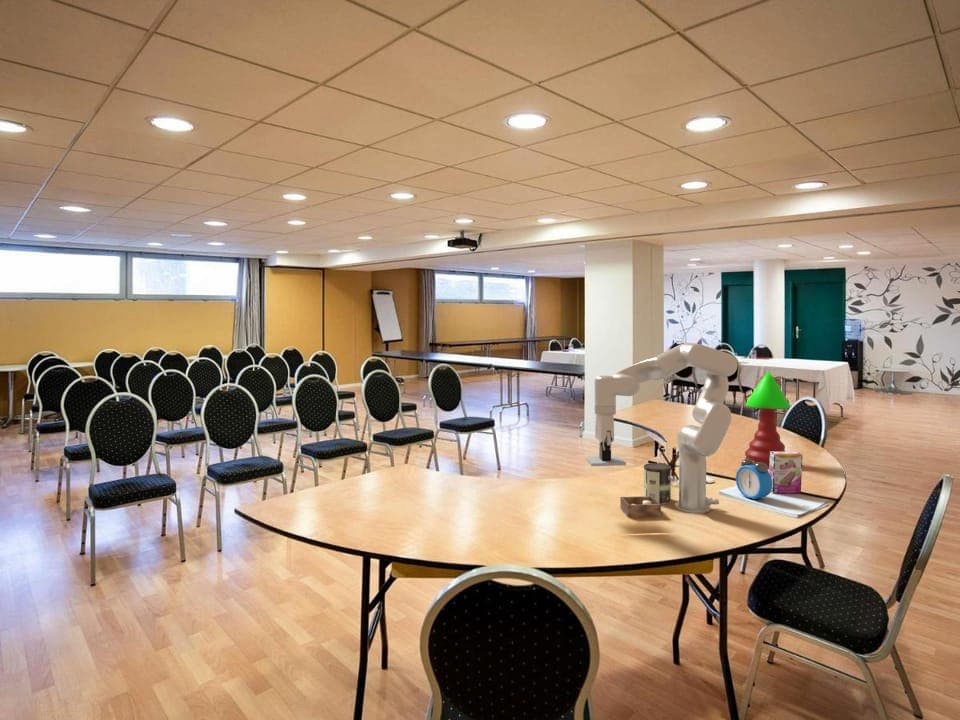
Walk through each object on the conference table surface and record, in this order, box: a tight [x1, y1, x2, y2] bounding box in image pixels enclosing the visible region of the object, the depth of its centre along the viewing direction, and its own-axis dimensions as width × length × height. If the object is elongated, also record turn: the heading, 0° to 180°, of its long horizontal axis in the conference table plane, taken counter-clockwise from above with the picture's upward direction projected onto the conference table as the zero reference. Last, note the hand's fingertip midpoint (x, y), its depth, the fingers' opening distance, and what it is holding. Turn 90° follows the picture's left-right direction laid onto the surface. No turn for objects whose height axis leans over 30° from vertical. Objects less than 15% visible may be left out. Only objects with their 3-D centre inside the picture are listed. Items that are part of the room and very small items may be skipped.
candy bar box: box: [768, 451, 803, 495], centre depth 239 cm, size 11×5×16 cm, turn 84°
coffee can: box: [643, 462, 672, 505], centre depth 231 cm, size 10×10×14 cm
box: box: [619, 495, 662, 519], centre depth 217 cm, size 12×10×5 cm
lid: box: [584, 445, 627, 467], centre depth 215 cm, size 12×10×6 cm
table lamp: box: [743, 370, 792, 469], centre depth 283 cm, size 20×20×45 cm
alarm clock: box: [735, 458, 772, 500], centre depth 233 cm, size 13×6×15 cm, turn 22°
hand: (605, 459), depth 215 cm, fingers closed on lid, 3 cm apart
